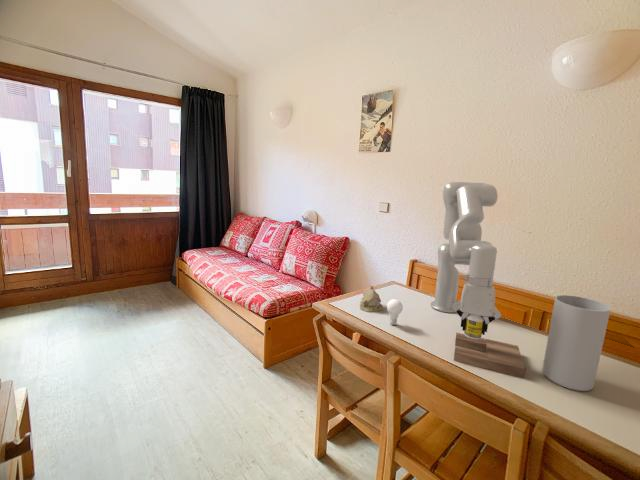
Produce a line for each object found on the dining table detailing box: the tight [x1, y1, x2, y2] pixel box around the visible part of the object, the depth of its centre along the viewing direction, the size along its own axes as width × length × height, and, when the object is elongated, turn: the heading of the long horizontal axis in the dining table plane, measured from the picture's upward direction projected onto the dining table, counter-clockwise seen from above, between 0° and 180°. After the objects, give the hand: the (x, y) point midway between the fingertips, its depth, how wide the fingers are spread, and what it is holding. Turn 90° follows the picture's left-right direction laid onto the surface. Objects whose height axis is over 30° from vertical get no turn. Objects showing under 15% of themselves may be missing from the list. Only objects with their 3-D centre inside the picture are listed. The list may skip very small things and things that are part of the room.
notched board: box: [453, 332, 526, 379], centre depth 106 cm, size 16×20×3 cm
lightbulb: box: [386, 298, 404, 326], centre depth 127 cm, size 6×6×11 cm
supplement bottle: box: [463, 313, 485, 339], centre depth 106 cm, size 5×5×10 cm
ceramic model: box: [359, 285, 384, 313], centre depth 146 cm, size 14×11×10 cm
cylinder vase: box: [541, 294, 611, 392], centre depth 93 cm, size 12×12×25 cm
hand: (473, 330), depth 107 cm, fingers closed on supplement bottle, 5 cm apart
